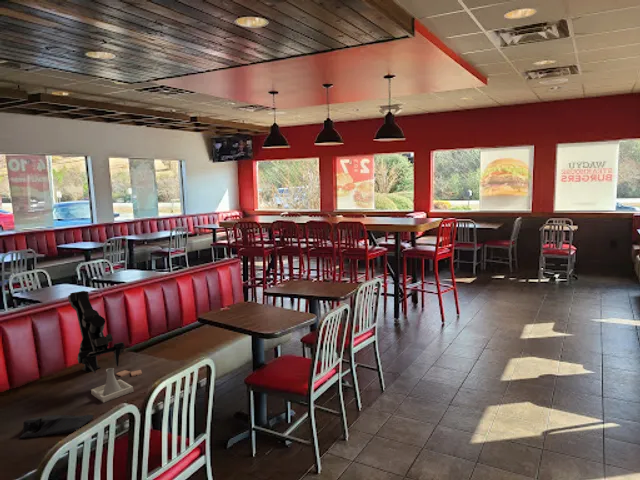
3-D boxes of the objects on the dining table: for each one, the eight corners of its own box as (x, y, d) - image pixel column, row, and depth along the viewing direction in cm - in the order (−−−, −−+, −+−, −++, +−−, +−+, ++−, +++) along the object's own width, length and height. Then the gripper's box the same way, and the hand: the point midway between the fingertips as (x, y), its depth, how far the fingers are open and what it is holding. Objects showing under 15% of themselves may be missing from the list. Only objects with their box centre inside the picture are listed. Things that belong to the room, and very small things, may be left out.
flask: (121, 386, 205) (119, 364, 203) (121, 393, 198) (118, 370, 197) (103, 390, 202) (100, 368, 201) (102, 397, 195) (99, 374, 194)
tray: (91, 394, 200) (90, 389, 200) (120, 384, 209) (120, 379, 209) (103, 402, 192) (102, 397, 191) (133, 391, 201) (133, 386, 200)
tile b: (130, 374, 221) (130, 371, 221) (141, 372, 223) (140, 369, 223) (131, 377, 217) (131, 375, 217) (142, 375, 219) (141, 372, 219)
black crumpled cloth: (76, 437, 166) (74, 425, 166) (15, 440, 167) (13, 427, 166) (97, 416, 182) (96, 404, 181) (41, 418, 182) (39, 407, 181)
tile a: (116, 375, 220) (116, 373, 220) (125, 372, 224) (125, 370, 224) (121, 377, 218) (121, 375, 218) (130, 374, 221) (130, 371, 221)
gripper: (75, 334, 200) (84, 367, 193) (121, 324, 212) (131, 354, 204) (74, 347, 208) (82, 379, 200) (118, 337, 219) (127, 366, 212)
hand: (106, 369), depth 204 cm, fingers open, 9 cm apart
